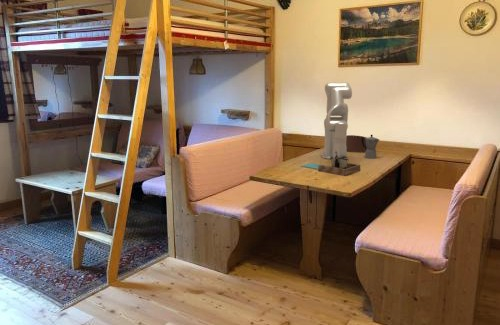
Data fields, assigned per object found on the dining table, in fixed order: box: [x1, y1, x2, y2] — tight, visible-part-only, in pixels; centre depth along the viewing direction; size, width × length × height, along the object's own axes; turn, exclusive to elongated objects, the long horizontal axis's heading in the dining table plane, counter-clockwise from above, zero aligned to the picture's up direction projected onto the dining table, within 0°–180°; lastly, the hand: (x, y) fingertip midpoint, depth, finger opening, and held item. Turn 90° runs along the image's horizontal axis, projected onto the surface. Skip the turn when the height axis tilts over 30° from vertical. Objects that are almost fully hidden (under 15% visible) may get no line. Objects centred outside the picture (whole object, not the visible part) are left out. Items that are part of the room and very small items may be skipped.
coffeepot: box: [361, 134, 380, 160], centre depth 315 cm, size 15×9×18 cm, turn 44°
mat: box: [300, 162, 327, 170], centre depth 289 cm, size 16×12×1 cm
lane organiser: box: [317, 162, 361, 177], centre depth 275 cm, size 21×18×4 cm
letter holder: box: [346, 134, 367, 154], centre depth 342 cm, size 10×20×14 cm, turn 66°
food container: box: [329, 156, 349, 169], centre depth 274 cm, size 12×6×10 cm, turn 63°
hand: (339, 166), depth 274 cm, fingers closed on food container, 6 cm apart
